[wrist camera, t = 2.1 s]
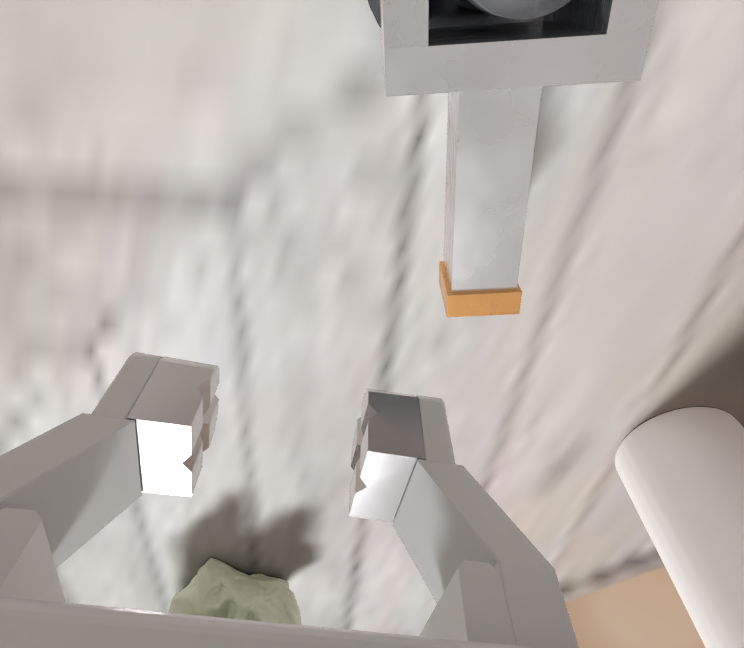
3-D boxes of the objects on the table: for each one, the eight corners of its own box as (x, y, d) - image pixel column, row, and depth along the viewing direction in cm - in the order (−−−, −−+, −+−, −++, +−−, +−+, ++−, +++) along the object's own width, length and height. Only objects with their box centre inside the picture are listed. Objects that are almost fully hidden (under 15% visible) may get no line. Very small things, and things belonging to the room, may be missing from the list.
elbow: (372, -196, 18) (371, -284, 12) (611, -217, 17) (730, -317, 12) (390, 265, 28) (395, 338, 22) (539, 257, 28) (583, 329, 22)
